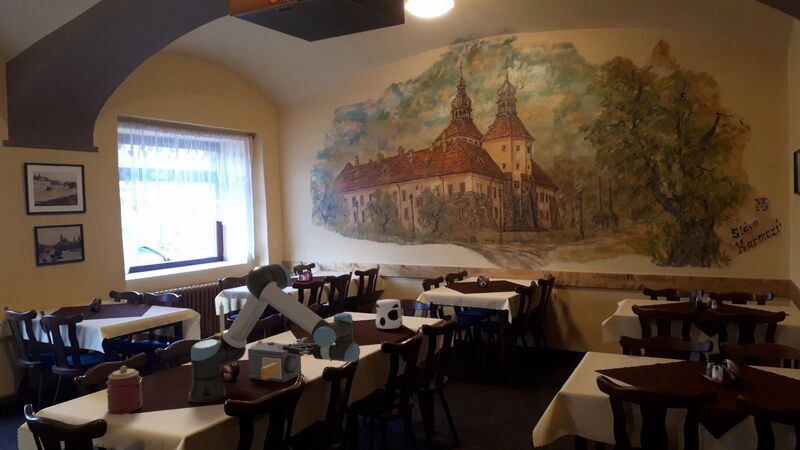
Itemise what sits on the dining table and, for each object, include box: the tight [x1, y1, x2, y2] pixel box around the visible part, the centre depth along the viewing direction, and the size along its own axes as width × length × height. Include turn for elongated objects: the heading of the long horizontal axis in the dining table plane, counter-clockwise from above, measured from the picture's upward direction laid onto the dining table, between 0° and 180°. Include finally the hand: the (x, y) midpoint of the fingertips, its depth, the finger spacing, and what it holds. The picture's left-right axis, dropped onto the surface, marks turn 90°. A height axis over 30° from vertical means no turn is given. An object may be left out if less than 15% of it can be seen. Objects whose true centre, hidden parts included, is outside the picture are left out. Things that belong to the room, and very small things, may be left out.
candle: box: [213, 301, 226, 337], centre depth 299 cm, size 10×10×32 cm
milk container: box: [375, 298, 403, 331], centre depth 369 cm, size 17×17×18 cm
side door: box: [261, 357, 282, 381], centre depth 258 cm, size 12×10×9 cm
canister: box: [105, 365, 144, 415], centre depth 234 cm, size 13×13×18 cm
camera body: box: [247, 341, 302, 383], centre depth 272 cm, size 15×22×15 cm
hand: (278, 346), depth 249 cm, fingers closed
